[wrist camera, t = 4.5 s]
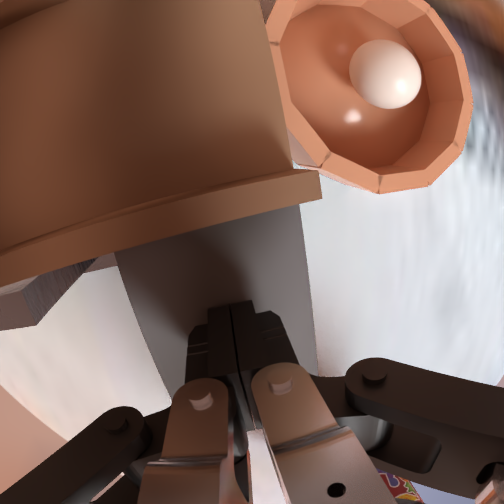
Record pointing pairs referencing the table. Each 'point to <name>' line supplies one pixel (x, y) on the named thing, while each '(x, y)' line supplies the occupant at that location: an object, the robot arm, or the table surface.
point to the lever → (154, 162)
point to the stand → (42, 292)
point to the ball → (385, 74)
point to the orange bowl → (354, 106)
